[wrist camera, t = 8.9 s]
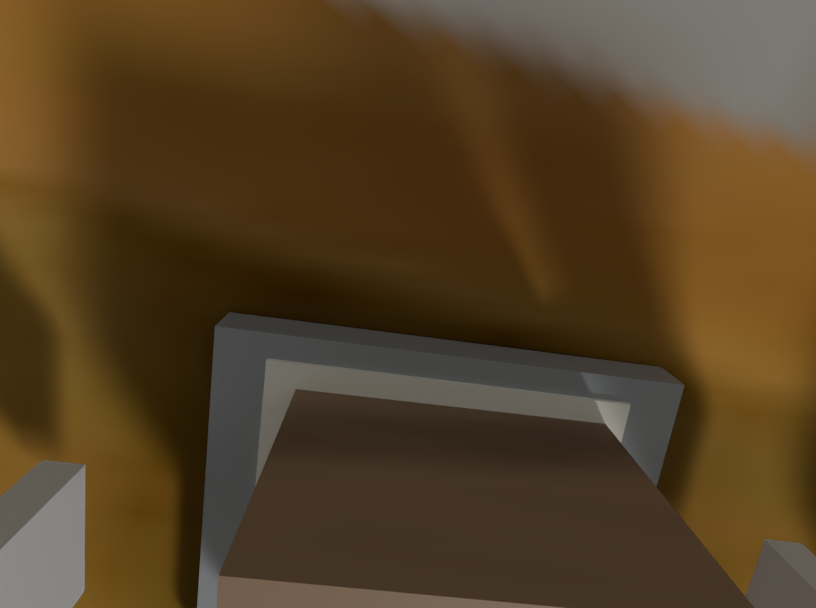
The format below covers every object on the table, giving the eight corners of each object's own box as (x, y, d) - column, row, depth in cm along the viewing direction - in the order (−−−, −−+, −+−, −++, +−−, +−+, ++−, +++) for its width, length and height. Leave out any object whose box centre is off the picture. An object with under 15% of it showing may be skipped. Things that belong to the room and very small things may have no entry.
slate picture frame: (207, 639, 13) (191, 681, 12) (229, 311, 12) (213, 327, 10) (580, 673, 14) (596, 716, 13) (661, 367, 12) (687, 387, 11)
